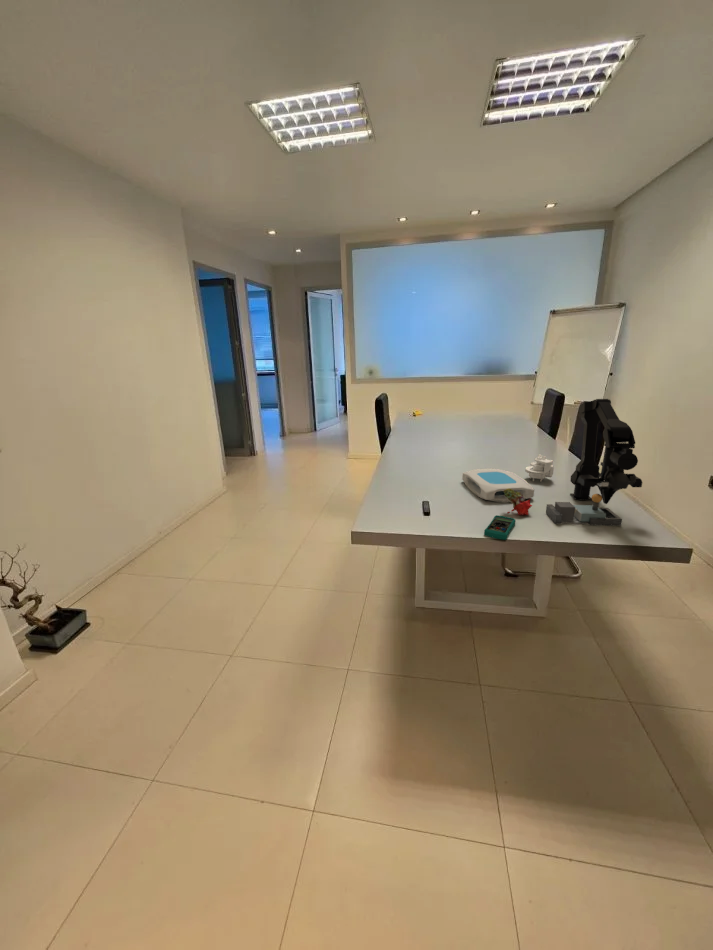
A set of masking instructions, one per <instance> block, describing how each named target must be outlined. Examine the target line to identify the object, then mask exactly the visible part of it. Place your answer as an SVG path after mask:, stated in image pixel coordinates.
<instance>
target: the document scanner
mask: <svg viewBox="0 0 713 950" xmlns="http://www.w3.org/2000/svg"><path fill="white" fill-rule="evenodd" d="M461 476H462V482H463V483H464V484H465V486H466V488H468V489H469V490H470V491H471V492H472V493H473V494H474V495H476V496H477V497H478V498H479V497H480V499H482V500H486V501H490V502H495V503H497V502H498V503H506V502H508V501H510V500H509V499H508V498H507V497H506V496H505V494H497V495H496V493H497V492H504V490H506V489H508V488H510V489H512V490H514V492H515V491H517V492H520V494H521V495H522V496H523V497H524V501H526V500H529V499H532V498H534V495H535V489H534V488H533V486H532V485H531V484H530V483H528V482H527V480H525V479H524V478H522V477H521V476H519V474H516V473H515V472H512V471H507V470H504V469H498V468H491V467H490V468H478V469H477V468H474V469H471V470H467V471H464V472H462V475H461ZM515 493H516V492H515ZM508 503H509V502H508Z"/></svg>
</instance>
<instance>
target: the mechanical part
mask: <svg viewBox="0 0 713 950" xmlns="http://www.w3.org/2000/svg"><path fill="white" fill-rule="evenodd" d="M529 464H530V465H529V466H526V467H525V472H526V473H527V474H528V477H529V479H530V480H531V479H532V482H534V481H535V479H540V481H539V482H541V483H542V481H543V480H544V479H545V478H552V477H553V475H554V469H555V467H554V465H553V464H554V460H552V459H547V456H546V455H542V454H538V455H537V456H536V457H535V458H534V461H532V462H530V463H529Z"/></svg>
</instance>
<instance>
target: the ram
mask: <svg viewBox="0 0 713 950" xmlns="http://www.w3.org/2000/svg"><path fill="white" fill-rule="evenodd" d="M591 498H592V500H591V501H592V505H589V504H587V505H586V504H572V505H573V506H574V507H575V513H574V516H575V517H576V518H577V519H578V520H579V521H588V522H589V520H590V518H607V517H606V513H604V512H603V511H602V510H601V509H599V508H600V507H599V505H600V502H601V501H603V499H602V496H601V493H600V494H599V493H594V494H592V496H591Z"/></svg>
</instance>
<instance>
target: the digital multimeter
mask: <svg viewBox="0 0 713 950" xmlns="http://www.w3.org/2000/svg"><path fill="white" fill-rule="evenodd" d="M515 525H516V519H515V518H513V517H508V516H503V515H498V514H497V515H494V516H493V518H492V520H491V522H490V523H489V524H488V525H487V527H486V528H485V529H484V533H483V535H484V536H486V537H488V538H493V539H495V540H496V539H497V540H501V541H502V540H504V541H506V540H507V539H508V536H509V535H510V533H511V531H512V530H513V528H514V527H515Z"/></svg>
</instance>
